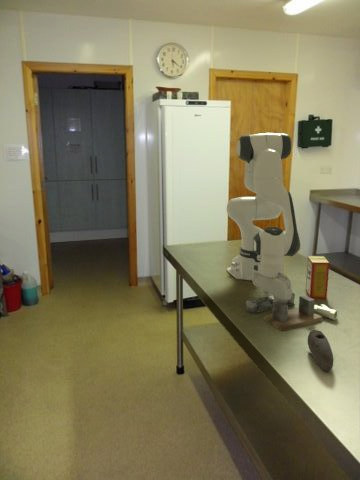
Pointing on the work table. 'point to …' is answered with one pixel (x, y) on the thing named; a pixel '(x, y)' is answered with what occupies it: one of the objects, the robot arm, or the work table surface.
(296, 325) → the peg stand
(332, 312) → the pipe fitting
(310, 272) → the baking soda box
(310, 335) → the perforated stone tool
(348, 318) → the work table surface
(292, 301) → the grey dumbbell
